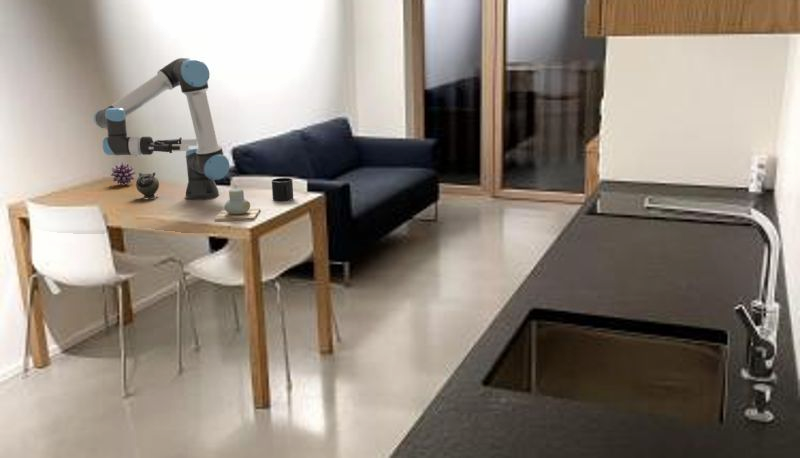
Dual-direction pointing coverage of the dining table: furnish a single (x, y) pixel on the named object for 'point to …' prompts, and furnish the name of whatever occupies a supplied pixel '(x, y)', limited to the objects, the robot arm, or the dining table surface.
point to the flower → (122, 173)
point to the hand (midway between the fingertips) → (192, 144)
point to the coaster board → (226, 216)
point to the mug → (282, 189)
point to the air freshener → (237, 203)
